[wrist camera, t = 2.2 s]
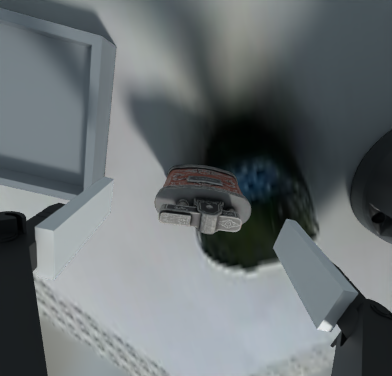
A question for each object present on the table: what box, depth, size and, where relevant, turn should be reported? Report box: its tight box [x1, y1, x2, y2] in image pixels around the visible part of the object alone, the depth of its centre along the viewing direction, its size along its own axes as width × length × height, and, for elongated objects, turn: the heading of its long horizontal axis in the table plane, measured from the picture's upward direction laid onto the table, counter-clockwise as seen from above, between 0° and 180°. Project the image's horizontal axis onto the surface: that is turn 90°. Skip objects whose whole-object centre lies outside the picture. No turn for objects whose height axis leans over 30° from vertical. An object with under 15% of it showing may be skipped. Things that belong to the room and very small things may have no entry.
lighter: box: [155, 165, 251, 234], centre depth 19 cm, size 8×3×10 cm, turn 83°
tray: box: [0, 8, 116, 200], centre depth 20 cm, size 16×16×3 cm
